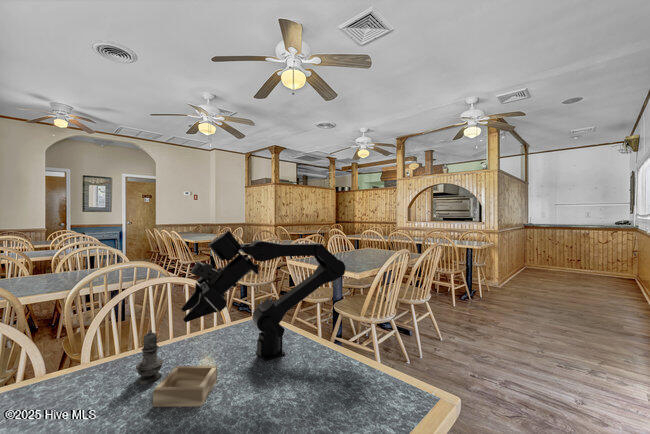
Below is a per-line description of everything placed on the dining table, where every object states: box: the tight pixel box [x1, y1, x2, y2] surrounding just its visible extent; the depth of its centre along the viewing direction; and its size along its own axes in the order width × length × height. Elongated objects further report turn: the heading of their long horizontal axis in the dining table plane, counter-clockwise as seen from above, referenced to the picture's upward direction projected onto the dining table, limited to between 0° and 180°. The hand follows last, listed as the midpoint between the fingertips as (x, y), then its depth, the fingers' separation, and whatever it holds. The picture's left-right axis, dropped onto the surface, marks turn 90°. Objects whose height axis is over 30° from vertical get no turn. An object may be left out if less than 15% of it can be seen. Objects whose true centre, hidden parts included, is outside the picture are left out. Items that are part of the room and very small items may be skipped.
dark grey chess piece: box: [135, 329, 164, 385], centre depth 72 cm, size 6×6×12 cm
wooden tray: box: [152, 365, 218, 408], centre depth 66 cm, size 10×10×4 cm
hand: (183, 315), depth 75 cm, fingers open, 9 cm apart
